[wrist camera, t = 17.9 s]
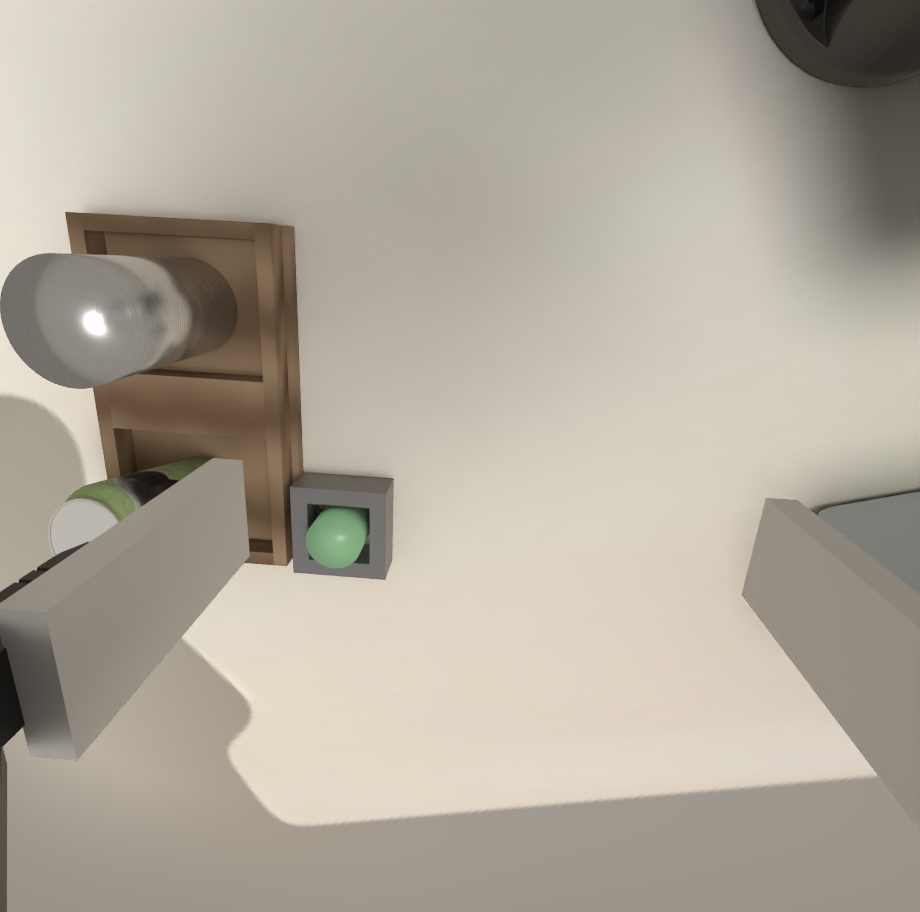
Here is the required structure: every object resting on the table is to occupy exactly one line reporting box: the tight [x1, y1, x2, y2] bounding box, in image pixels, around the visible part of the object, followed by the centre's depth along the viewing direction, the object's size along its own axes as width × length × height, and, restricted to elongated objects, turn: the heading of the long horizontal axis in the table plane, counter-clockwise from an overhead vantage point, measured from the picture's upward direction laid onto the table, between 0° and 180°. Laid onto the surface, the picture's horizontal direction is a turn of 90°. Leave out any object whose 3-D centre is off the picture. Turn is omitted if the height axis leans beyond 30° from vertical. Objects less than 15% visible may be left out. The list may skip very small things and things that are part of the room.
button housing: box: [290, 472, 394, 580], centre depth 43 cm, size 7×7×3 cm
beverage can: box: [48, 457, 211, 556], centre depth 37 cm, size 6×7×12 cm
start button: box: [306, 505, 370, 568], centre depth 42 cm, size 4×4×4 cm
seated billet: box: [0, 253, 238, 389], centre depth 33 cm, size 6×6×12 cm
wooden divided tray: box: [65, 212, 303, 566], centre depth 40 cm, size 24×14×3 cm, turn 177°
